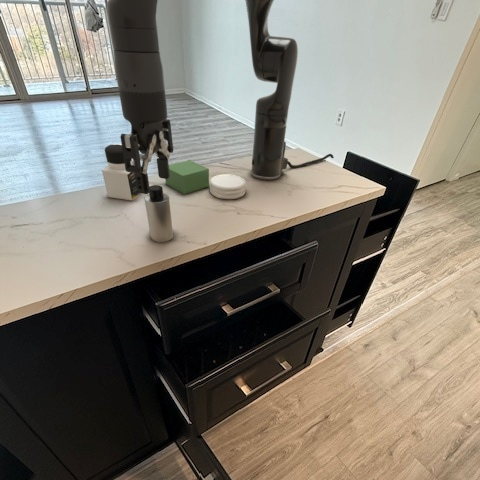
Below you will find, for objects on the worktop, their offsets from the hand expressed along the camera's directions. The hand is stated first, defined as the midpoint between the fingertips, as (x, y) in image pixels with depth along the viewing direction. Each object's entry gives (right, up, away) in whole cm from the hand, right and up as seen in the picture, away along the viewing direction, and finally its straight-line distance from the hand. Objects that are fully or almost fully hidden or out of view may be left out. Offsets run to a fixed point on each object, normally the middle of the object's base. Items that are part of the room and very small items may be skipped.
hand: (154, 185), depth 64 cm
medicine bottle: (-14, +7, +23) cm, 28 cm away
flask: (-1, -8, +8) cm, 12 cm away
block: (+2, +12, +29) cm, 32 cm away
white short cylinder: (+14, +9, +27) cm, 32 cm away
